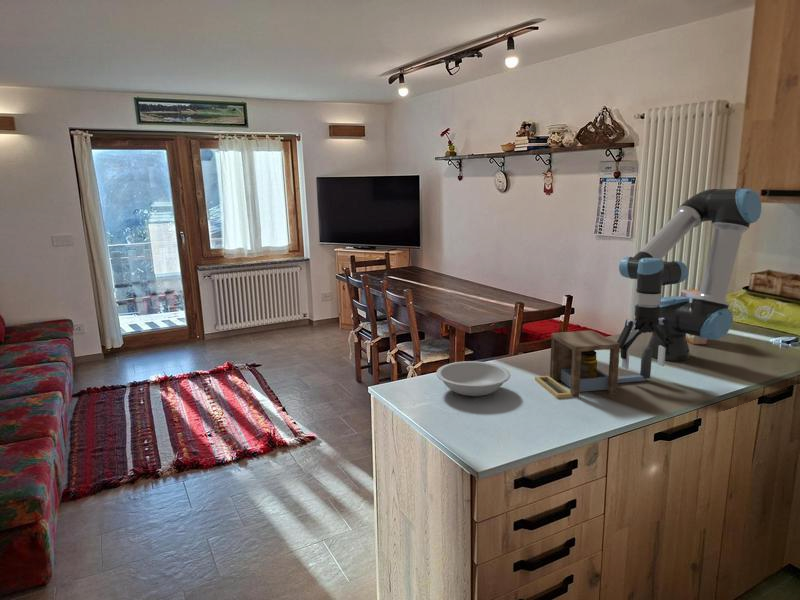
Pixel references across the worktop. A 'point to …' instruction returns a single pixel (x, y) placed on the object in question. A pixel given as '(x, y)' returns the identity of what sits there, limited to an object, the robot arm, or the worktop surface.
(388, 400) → the worktop surface
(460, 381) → the soup bowl
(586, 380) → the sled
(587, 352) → the condiment
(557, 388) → the beige rectangular tray
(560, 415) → the worktop surface
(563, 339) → the tunnel
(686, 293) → the cracker box
